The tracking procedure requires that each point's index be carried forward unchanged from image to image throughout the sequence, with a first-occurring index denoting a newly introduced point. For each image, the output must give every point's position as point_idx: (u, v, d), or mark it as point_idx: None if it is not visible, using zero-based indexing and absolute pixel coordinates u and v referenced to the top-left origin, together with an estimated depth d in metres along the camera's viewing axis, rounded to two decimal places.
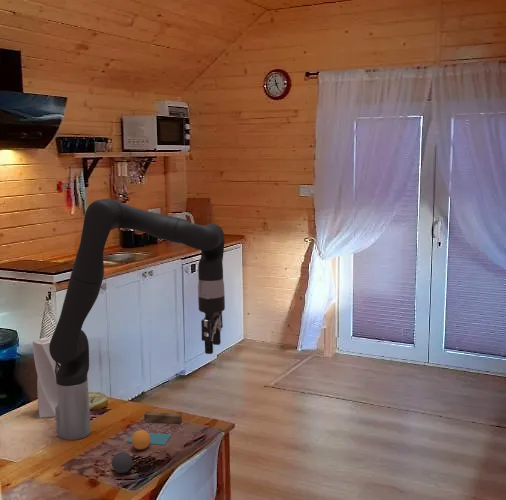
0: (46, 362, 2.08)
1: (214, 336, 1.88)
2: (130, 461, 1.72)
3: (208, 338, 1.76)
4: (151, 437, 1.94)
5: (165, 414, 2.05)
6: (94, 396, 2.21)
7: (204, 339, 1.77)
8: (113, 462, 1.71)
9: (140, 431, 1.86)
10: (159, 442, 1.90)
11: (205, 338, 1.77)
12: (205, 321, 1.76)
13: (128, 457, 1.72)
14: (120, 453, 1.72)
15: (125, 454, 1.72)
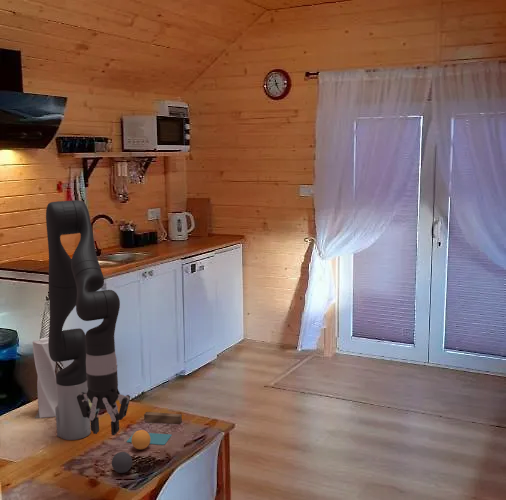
0: (46, 362, 2.08)
1: (96, 424, 1.62)
2: (130, 461, 1.72)
3: (125, 414, 1.61)
4: (151, 437, 1.94)
5: (165, 414, 2.05)
6: None
7: (122, 417, 1.60)
8: (113, 462, 1.71)
9: (140, 431, 1.86)
10: (159, 442, 1.90)
11: (123, 416, 1.60)
12: (128, 399, 1.60)
13: (128, 457, 1.72)
14: (120, 453, 1.72)
15: (125, 454, 1.72)
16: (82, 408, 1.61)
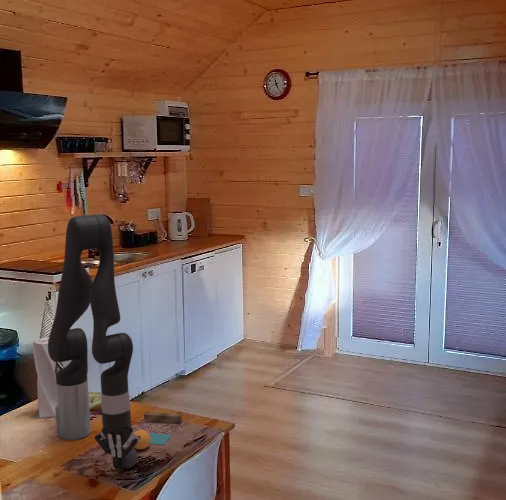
0: (46, 362, 2.08)
1: None
2: (136, 456, 1.75)
3: (130, 451, 1.72)
4: (151, 437, 1.94)
5: (165, 414, 2.05)
6: (94, 396, 2.21)
7: (127, 454, 1.71)
8: None
9: (140, 431, 1.86)
10: (159, 442, 1.90)
11: (128, 452, 1.71)
12: (138, 440, 1.70)
13: (136, 452, 1.76)
14: None
15: (134, 449, 1.77)
16: (103, 446, 1.71)
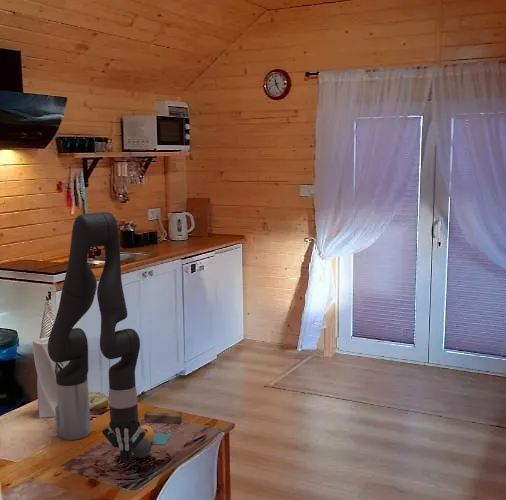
0: (46, 362, 2.08)
1: None
2: (148, 453, 1.81)
3: None
4: None
5: (165, 414, 2.05)
6: (94, 396, 2.21)
7: (134, 447, 1.74)
8: None
9: None
10: (159, 442, 1.90)
11: None
12: (145, 433, 1.74)
13: None
14: None
15: None
16: (110, 440, 1.75)
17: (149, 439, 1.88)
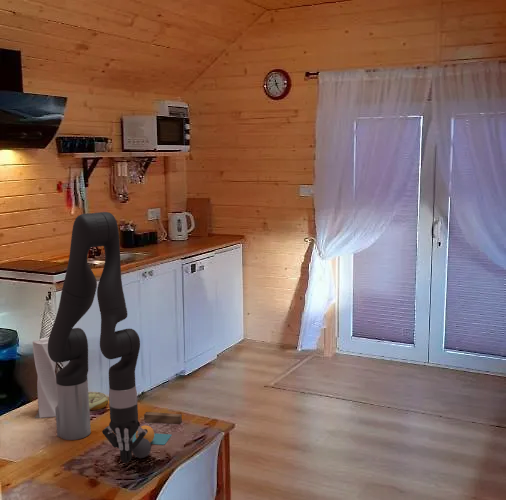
0: (46, 362, 2.08)
1: None
2: (148, 453, 1.81)
3: None
4: None
5: (165, 414, 2.05)
6: (94, 396, 2.21)
7: (134, 447, 1.74)
8: None
9: None
10: (159, 442, 1.90)
11: None
12: (145, 433, 1.74)
13: None
14: None
15: None
16: (110, 440, 1.75)
17: (149, 439, 1.88)
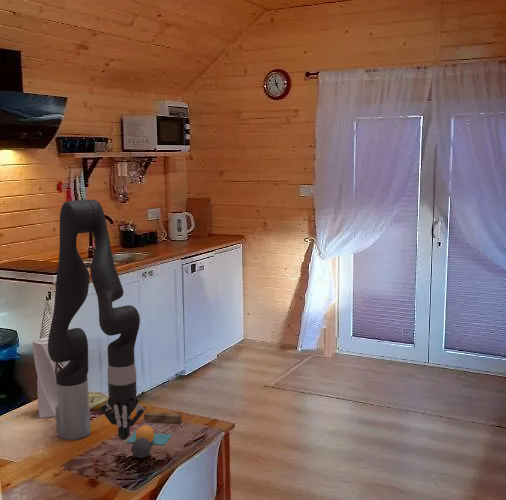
0: (46, 362, 2.08)
1: None
2: (148, 453, 1.81)
3: (135, 422, 1.75)
4: None
5: (165, 414, 2.05)
6: (94, 396, 2.21)
7: (133, 424, 1.74)
8: None
9: None
10: (159, 442, 1.90)
11: None
12: None
13: None
14: None
15: None
16: (108, 417, 1.74)
17: (149, 439, 1.88)
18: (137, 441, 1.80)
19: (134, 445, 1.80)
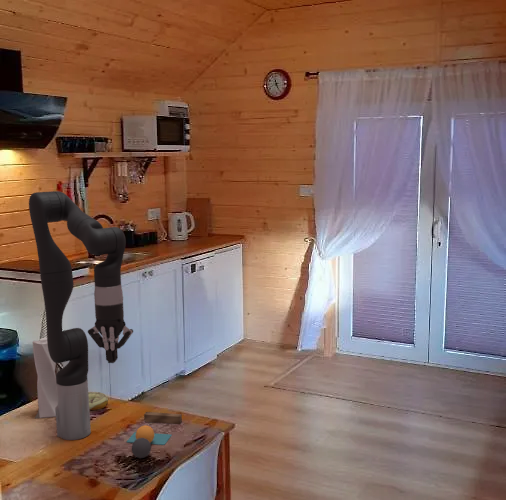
0: (46, 362, 2.08)
1: None
2: (148, 453, 1.81)
3: None
4: None
5: (165, 414, 2.05)
6: (94, 396, 2.21)
7: (120, 347, 1.74)
8: None
9: None
10: (159, 442, 1.90)
11: (121, 345, 1.74)
12: (131, 333, 1.73)
13: None
14: None
15: None
16: (96, 340, 1.74)
17: (149, 439, 1.88)
18: (137, 441, 1.80)
19: (134, 445, 1.80)
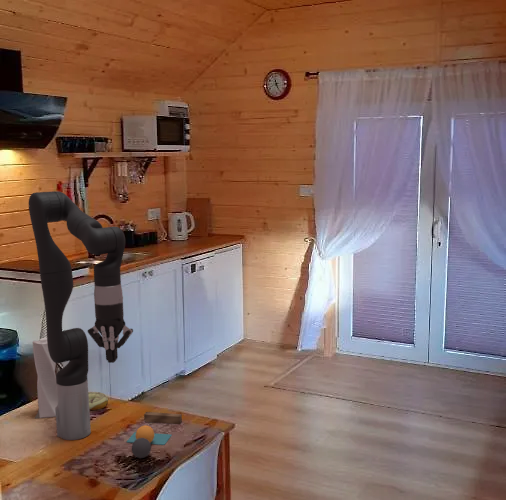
0: (46, 362, 2.08)
1: None
2: (148, 453, 1.81)
3: (123, 344, 1.75)
4: None
5: (165, 414, 2.05)
6: (94, 396, 2.21)
7: (120, 346, 1.74)
8: None
9: None
10: (159, 442, 1.90)
11: (121, 345, 1.74)
12: (131, 332, 1.73)
13: None
14: None
15: None
16: (96, 339, 1.74)
17: (149, 439, 1.88)
18: (137, 441, 1.80)
19: (134, 445, 1.80)
